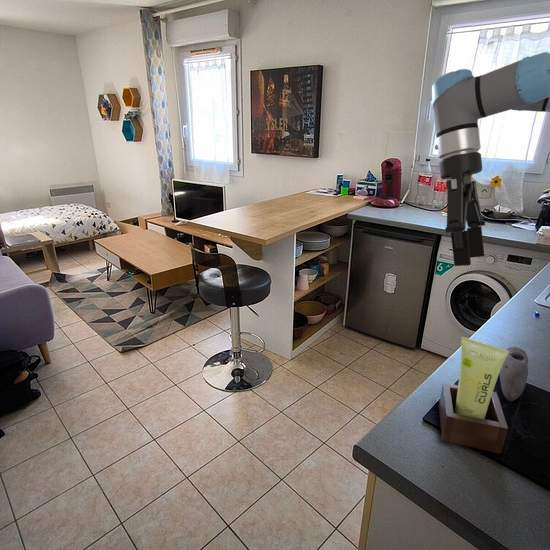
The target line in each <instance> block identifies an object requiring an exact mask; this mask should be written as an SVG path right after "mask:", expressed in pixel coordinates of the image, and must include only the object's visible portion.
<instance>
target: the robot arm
mask: <svg viewBox="0 0 550 550" xmlns="http://www.w3.org/2000/svg"><path fill="white" fill-rule="evenodd" d="M431 99H432V100H431V101H432V102H431V103H432V104H431V108H432V114H433V119H434V120H433V121H434V129H435V136H436V137H435V138H436V143H437V144H435V145H434V149H435V150H437V153H438V154H437V155H438V158H439V159H441V160H440V161H439V163H438V165H439V166H438V167H439V175H440V176H439V177H440V179H442V180H446V190H447V191H446V192H447V193H446V194H447V197H446V200H447V201H446V204H447V205H446V227H445V228H444V229H445V230H444V231H445V233H446V234H449V233H450V238H451V248H452V254H453V255H452V257H453V264H454V267H462V266H464V267H465V266H471V265H472V261H471V258H482V257H483V258H484V257H485V249H484V248H485V247H484V239H483V238H484V237H483V229H482V227H483V226H486V221H485V220H484V219H483V216H482V211H481V205H480V201H479V196H478V191H477V182H476V180H475V179H474V180H473V179H472V178H471V177H472V176H473V175H477V174H479V173H481V172H482V171H483V160H482V154H481V153H480V152H479V151H480V149H481V148H482V146H481V138H480V128H479V120H480V119H485V118H487V117H490V116H493V115H497V114H500V113H504V112H507V111H519V112H525V111H526V112H537V113H538V112H539V113H544V112H545V113H550V52H548V51H542V52H540V53H537V54H534V55H531V56H525V57H523V58H522V59H520V60H517V61H515V62H512V63H510V64H507V65H505V66H501V67H500V68H497V69H494V70H492V71H489V72H486V73H484V74H482V75H478V76H474V73H473V71H472V70H470V69H468V68H461V69H458V70H454V71H450V72H447V73H445V74H443V75H441V76H439V77H437V79H436V80H435V81H433V84H432V85H431ZM466 225H467V227H466Z"/></svg>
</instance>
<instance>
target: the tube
mask: <svg viewBox="0 0 550 550" xmlns="http://www.w3.org/2000/svg"><path fill="white" fill-rule="evenodd" d="M460 341H461V342H460V348H461V349H460V365H459V373H458V374H459V375H458V377H459V378H458V384H457V385H458V392H457V400H456V408H455V412H454V413H455V414H460V415H465V416H470V417H475V418H480V419H485V416H486V412H487V409H488V405H489V402H490V399H491V396H492V393H493V392H494V389H495V386H496V383H497V381H498V378H499V377H500V370H501V368H502V366H503V363H504V361H505V359H506V357H507V355H508V352H509V351H508V350H507V349H504V348H500V347H497V346H494V345H490V344H487V343H485V342H480V341H477V340H474V339H471V338H467V337H464V336H461V338H460ZM485 420H486V419H485Z"/></svg>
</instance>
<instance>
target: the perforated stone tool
mask: <svg viewBox="0 0 550 550" xmlns="http://www.w3.org/2000/svg"><path fill="white" fill-rule="evenodd" d="M506 350H508V351H509V352H508V355H507V357H506V359H505V361H504V363H503V366H502V368H501V370H500V373H499V382H500V387H501V392H502V394H503V397H504V398H505V399H506V400H507V401H508V402H514V401H515V400H517V399H518V398H519V397H520V396H521V395H522V393H523V392H524V390H525V387H526V384H527V380H528V375H529V367H528V364H529V357H528V355H527V353H526V351H525V350H524V349H522V348H520V347H519V346H518V347H517V346H509V347H508V348H506Z"/></svg>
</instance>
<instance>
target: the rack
mask: <svg viewBox="0 0 550 550" xmlns="http://www.w3.org/2000/svg"><path fill="white" fill-rule="evenodd" d="M457 392H458V384H453V383H447V382H442V386H441V391H440V396H439V402H438V410H439V422H440V434H441V441H443V442H447V443H451V444H455V445H459V446H465V447H469V448H473V449H478V450H483V451H486V452H491V453H495V454H500V455H501V454H502V451H503V448H504V444H505V441H506V437H507V434H508V431H509V427H508V423H507V421H506V418H505V414H504V411H503V408H502V405H501V402H500V399H499V398H500V397H499V395H498V393H497V391H493V393H492V396H491V399H490V402H489V405H488V409H487V412H486V416H485V419H480V418H475V417H470V416H465V415H460V414H455V408H456V400H457Z"/></svg>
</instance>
